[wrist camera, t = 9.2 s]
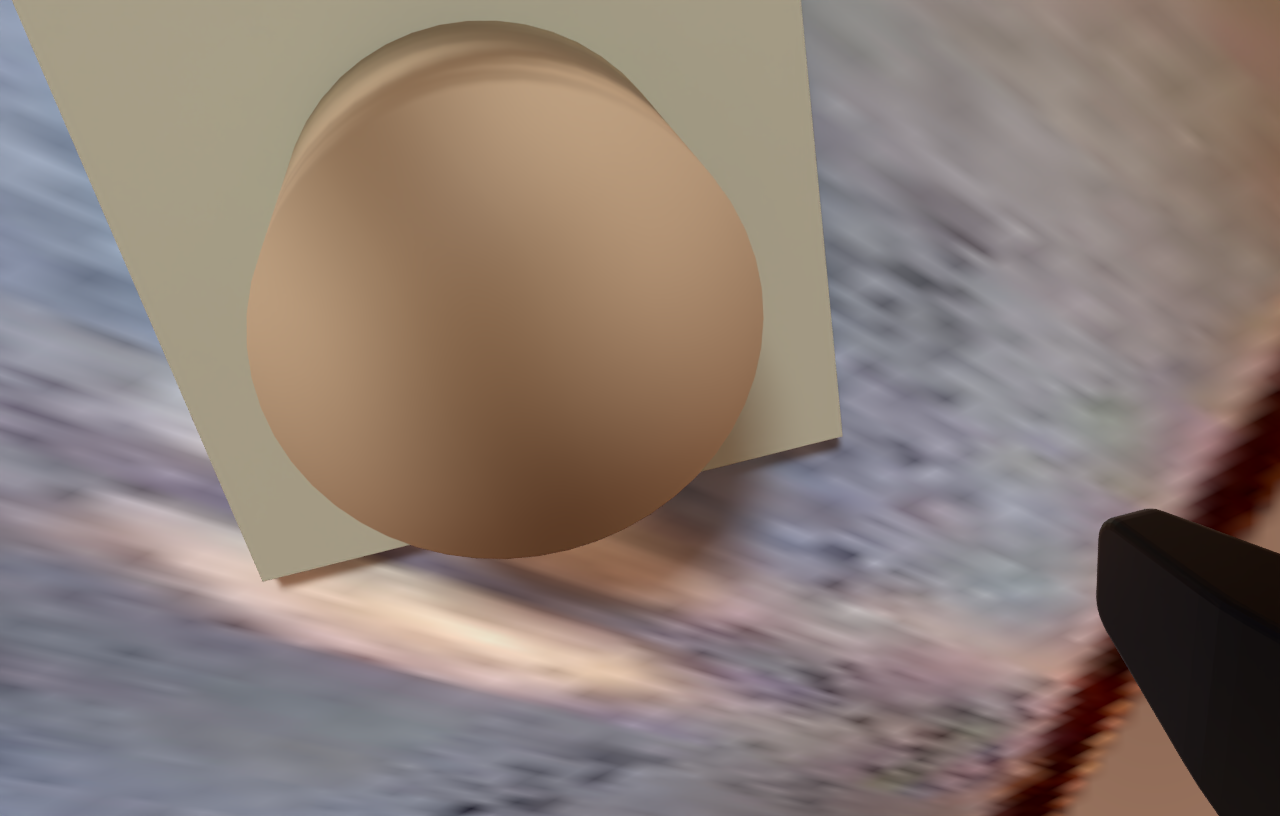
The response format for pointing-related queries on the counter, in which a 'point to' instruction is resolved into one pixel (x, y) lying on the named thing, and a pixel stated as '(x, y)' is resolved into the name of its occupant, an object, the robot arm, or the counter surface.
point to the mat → (264, 142)
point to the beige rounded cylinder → (499, 297)
